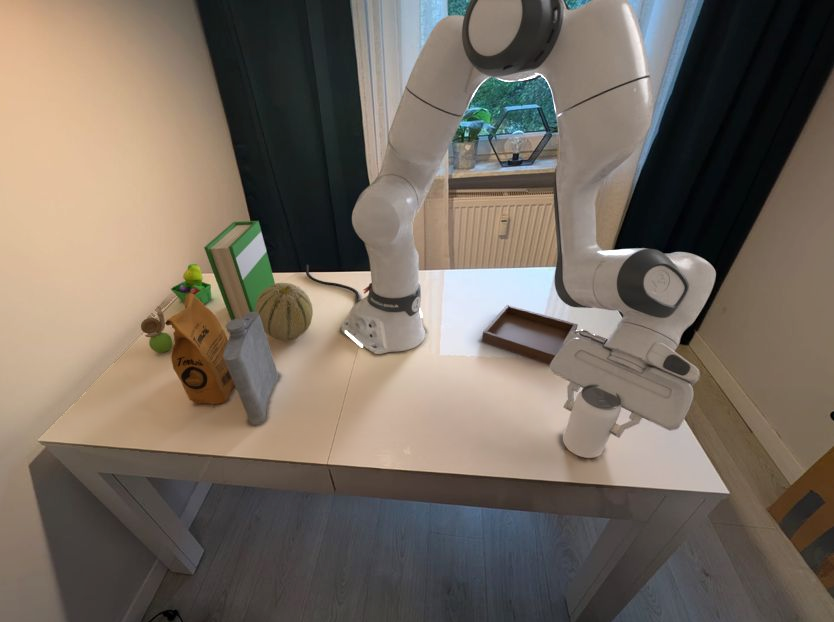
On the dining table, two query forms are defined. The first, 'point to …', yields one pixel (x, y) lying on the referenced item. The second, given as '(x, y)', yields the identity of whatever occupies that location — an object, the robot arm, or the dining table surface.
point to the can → (591, 421)
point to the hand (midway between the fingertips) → (590, 422)
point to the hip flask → (250, 364)
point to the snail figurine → (157, 333)
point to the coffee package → (200, 353)
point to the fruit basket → (193, 285)
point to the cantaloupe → (284, 311)
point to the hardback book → (240, 266)
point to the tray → (528, 333)
